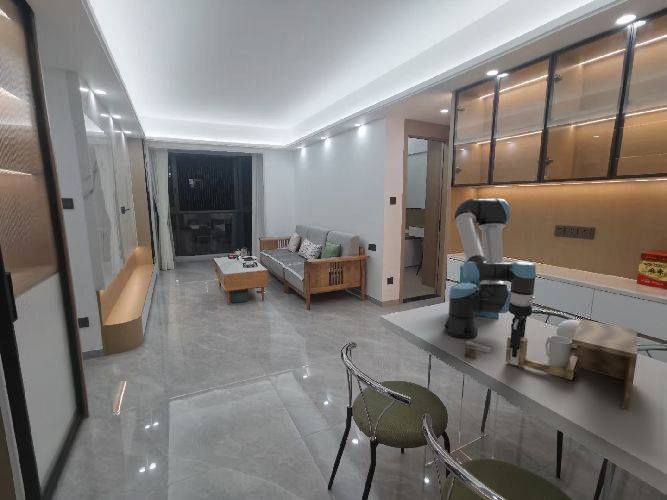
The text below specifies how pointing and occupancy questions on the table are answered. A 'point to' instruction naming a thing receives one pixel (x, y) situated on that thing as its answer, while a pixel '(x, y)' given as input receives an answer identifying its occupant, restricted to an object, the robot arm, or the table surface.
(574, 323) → the decorative ball
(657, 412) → the table surface
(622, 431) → the table surface
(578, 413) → the table surface
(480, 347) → the grey stick
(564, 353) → the mug
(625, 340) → the shelf
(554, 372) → the wooden u-shaped rack
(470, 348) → the walnut cube
